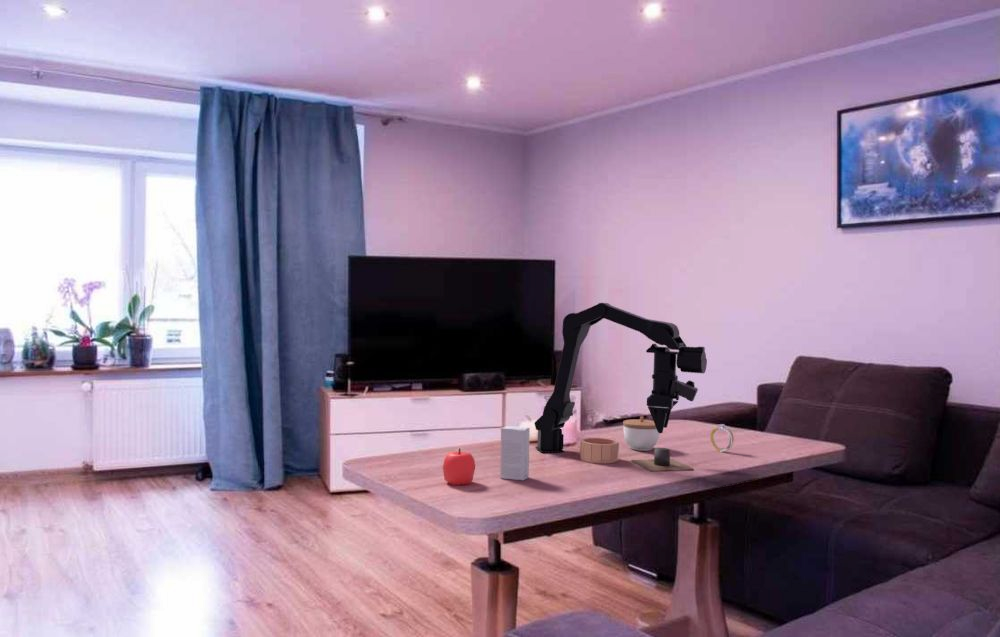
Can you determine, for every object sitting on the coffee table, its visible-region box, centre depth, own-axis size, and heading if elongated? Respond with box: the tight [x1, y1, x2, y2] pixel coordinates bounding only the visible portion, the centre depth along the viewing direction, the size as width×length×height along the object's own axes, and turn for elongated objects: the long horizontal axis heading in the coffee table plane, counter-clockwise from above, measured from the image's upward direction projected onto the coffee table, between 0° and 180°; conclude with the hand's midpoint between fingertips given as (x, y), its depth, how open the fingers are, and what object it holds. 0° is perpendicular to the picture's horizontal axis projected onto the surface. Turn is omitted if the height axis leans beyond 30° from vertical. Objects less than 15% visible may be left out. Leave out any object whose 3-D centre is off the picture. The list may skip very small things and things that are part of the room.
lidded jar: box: [622, 416, 661, 452], centre depth 216 cm, size 11×11×9 cm
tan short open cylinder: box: [579, 437, 620, 465], centre depth 199 cm, size 10×10×5 cm
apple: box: [442, 447, 476, 486], centre depth 170 cm, size 8×8×8 cm
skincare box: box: [499, 425, 530, 481], centre depth 176 cm, size 6×4×12 cm
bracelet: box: [710, 423, 735, 453], centre depth 214 cm, size 7×3×8 cm, turn 35°
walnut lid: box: [631, 447, 695, 473], centre depth 194 cm, size 12×12×5 cm
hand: (662, 430), depth 194 cm, fingers open, 9 cm apart
